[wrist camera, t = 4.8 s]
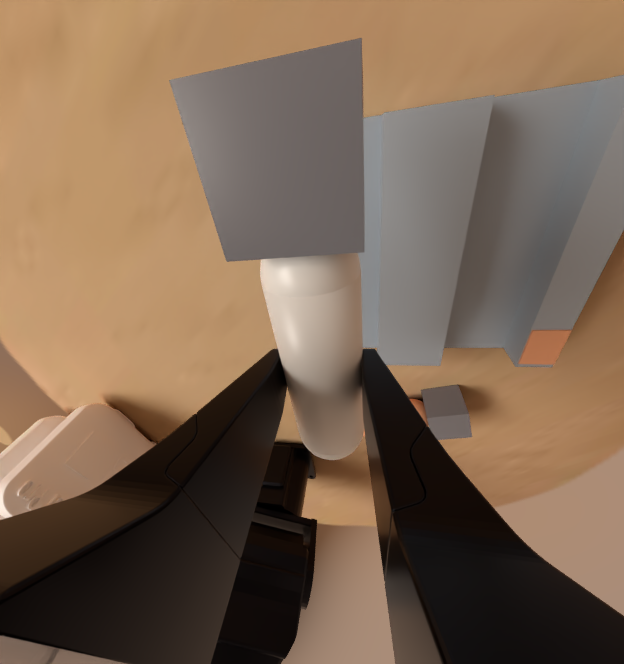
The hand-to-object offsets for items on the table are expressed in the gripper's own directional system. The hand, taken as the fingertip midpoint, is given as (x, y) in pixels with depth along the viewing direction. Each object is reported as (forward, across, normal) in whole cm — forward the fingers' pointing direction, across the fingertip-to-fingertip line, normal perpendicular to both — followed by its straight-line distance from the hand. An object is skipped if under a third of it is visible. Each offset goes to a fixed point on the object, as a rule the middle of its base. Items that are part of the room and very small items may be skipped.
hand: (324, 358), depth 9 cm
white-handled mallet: (+1, 0, -1) cm, 1 cm away
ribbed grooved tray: (+10, -4, 0) cm, 10 cm away
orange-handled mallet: (+10, -3, +14) cm, 17 cm away
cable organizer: (+10, +30, +22) cm, 38 cm away
